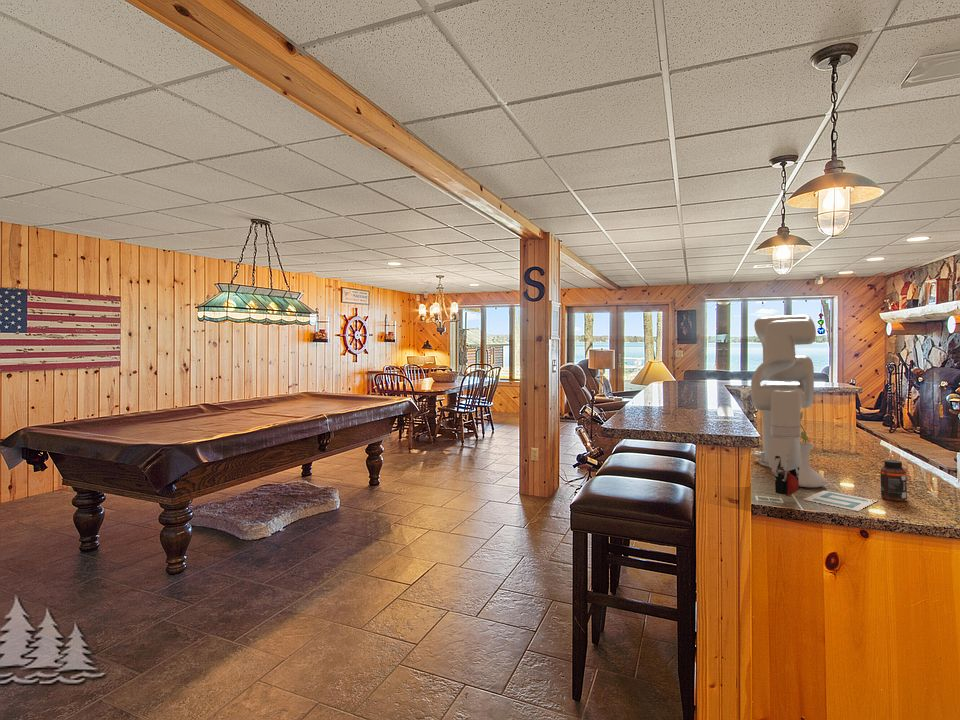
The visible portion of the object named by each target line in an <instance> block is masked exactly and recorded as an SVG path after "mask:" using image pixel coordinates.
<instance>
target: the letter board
mask: <svg viewBox="0 0 960 720" xmlns="http://www.w3.org/2000/svg"><path fill="white" fill-rule="evenodd" d="M805 500H806V501H807V502H810V501H812V502H811V503H815V502H816V504H819V503H821V504H820V505H824V504H825V505H824V506H829V505H830V506H831V507H834V506H835V508H838V507H839V509H844V510H849V511H852V512H853V511H854V512H857V511H858V512H860V511H862V510H864V509H866V508H868V507H870V506H872V505H874V504H875V503H874V502H876V503H878V502H877V501H878V500H875V499H871V498H865V497H861V496H855V495H849V494H845V493H844V494H843V493H840V492H839V493H838V492H833V491H829V490H821V491H819V492H817V493H814V494H812V495H810V496H808V497H805V498H802V501H805ZM872 500H873V501H874V502H872ZM806 501H805V502H806ZM867 501H868V502H867ZM870 501H871V502H870ZM873 503H874V504H873ZM871 504H872V505H871ZM869 505H870V506H869ZM867 506H868V507H867ZM865 507H866V508H865ZM863 508H864V509H863Z"/></svg>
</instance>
